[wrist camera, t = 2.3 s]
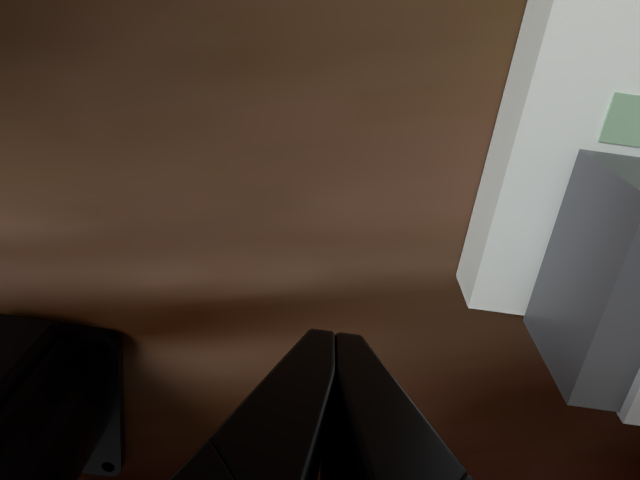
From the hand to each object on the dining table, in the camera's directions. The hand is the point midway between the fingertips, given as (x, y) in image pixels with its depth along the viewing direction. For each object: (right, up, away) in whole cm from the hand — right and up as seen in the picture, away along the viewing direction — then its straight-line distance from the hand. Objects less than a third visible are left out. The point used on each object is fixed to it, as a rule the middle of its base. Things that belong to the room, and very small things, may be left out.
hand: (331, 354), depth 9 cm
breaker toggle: (+7, +2, +6) cm, 9 cm away
